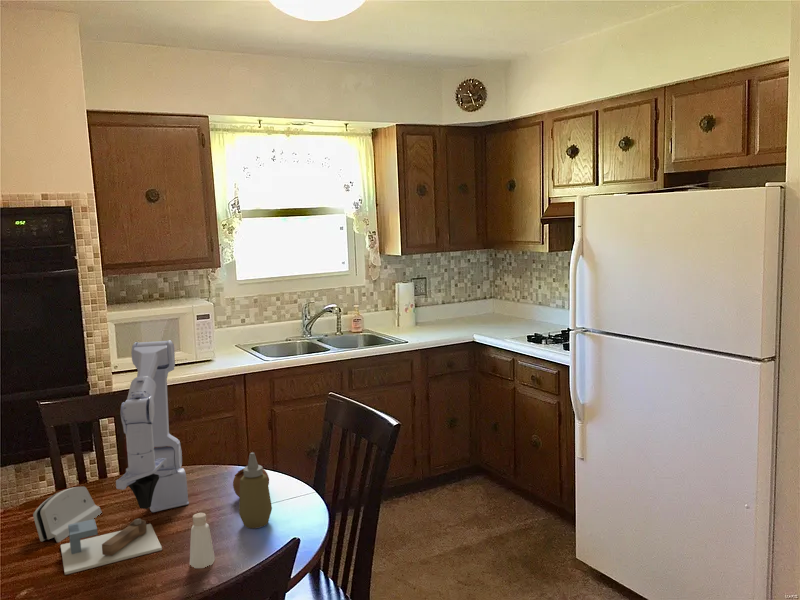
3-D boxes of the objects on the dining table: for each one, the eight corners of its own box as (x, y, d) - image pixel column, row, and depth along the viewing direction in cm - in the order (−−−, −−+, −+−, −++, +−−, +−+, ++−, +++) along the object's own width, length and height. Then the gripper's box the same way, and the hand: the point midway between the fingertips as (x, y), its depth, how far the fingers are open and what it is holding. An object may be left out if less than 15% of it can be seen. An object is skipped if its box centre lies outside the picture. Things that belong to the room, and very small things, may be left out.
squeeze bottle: (279, 522, 166) (275, 452, 164) (251, 534, 160) (247, 461, 158) (260, 513, 171) (256, 445, 169) (232, 524, 165) (228, 454, 163)
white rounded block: (57, 543, 159) (41, 504, 158) (42, 548, 160) (26, 509, 159) (103, 512, 175) (89, 477, 174) (89, 517, 176) (74, 482, 176)
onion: (243, 514, 178) (226, 487, 174) (242, 491, 187) (226, 465, 182) (276, 499, 179) (260, 472, 175) (273, 477, 188) (258, 451, 183)
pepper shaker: (191, 571, 144) (187, 522, 142) (188, 559, 149) (184, 512, 147) (216, 565, 146) (213, 517, 145) (213, 554, 151) (210, 507, 150)
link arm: (136, 528, 163) (135, 516, 162) (149, 530, 162) (148, 517, 161) (100, 554, 150) (99, 540, 150) (114, 555, 149) (112, 542, 149)
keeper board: (150, 525, 166) (149, 504, 166) (162, 549, 154) (160, 526, 153) (60, 547, 156) (58, 524, 156) (64, 574, 144) (62, 550, 143)
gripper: (148, 438, 161) (152, 493, 163) (102, 459, 147) (108, 518, 149) (172, 441, 159) (176, 496, 160) (128, 462, 145) (133, 522, 147)
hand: (145, 507), depth 154 cm, fingers closed
